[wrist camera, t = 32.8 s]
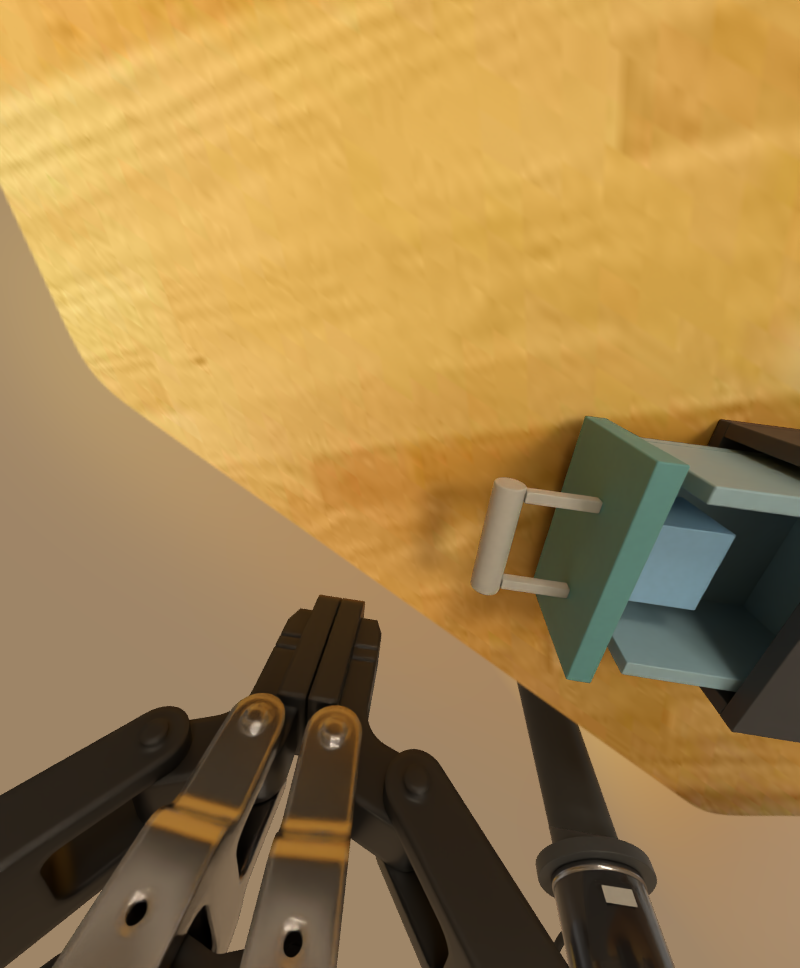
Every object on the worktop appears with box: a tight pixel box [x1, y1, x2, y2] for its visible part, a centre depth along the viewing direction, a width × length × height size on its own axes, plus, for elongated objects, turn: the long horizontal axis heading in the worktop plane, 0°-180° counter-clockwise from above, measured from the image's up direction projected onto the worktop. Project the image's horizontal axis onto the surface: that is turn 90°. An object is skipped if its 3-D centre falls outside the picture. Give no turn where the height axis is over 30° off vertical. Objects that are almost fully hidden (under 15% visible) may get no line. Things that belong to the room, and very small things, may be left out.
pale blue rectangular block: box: [628, 497, 736, 610], centre depth 19 cm, size 4×4×4 cm
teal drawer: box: [471, 416, 800, 692], centre depth 19 cm, size 18×11×7 cm, turn 84°
